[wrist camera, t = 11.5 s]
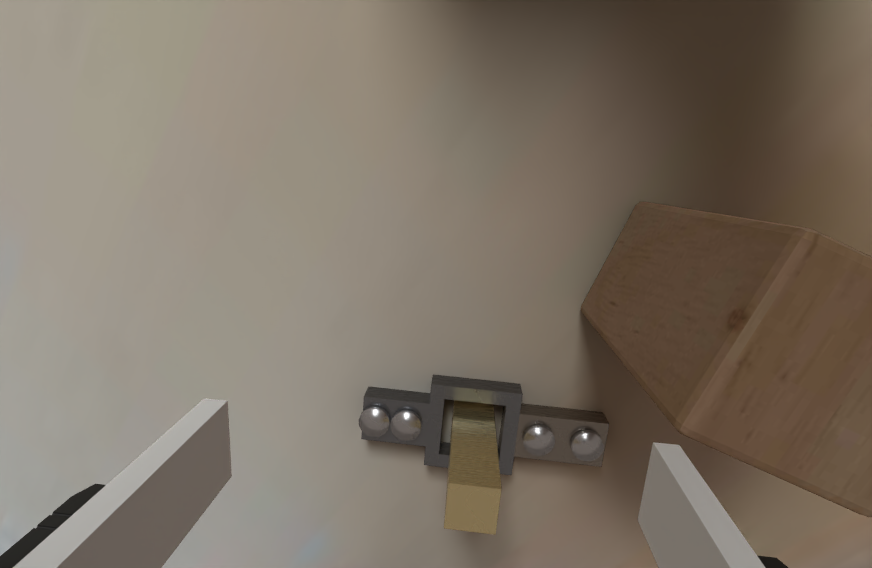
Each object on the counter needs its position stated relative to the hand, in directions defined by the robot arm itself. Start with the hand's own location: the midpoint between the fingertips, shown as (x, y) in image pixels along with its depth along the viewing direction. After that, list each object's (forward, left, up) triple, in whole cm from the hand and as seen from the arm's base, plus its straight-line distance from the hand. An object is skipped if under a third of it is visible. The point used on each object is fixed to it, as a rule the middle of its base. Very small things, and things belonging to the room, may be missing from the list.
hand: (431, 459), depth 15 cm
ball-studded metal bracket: (+13, +3, -26) cm, 29 cm away
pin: (+13, +3, -26) cm, 29 cm away
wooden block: (-1, +17, -27) cm, 31 cm away
